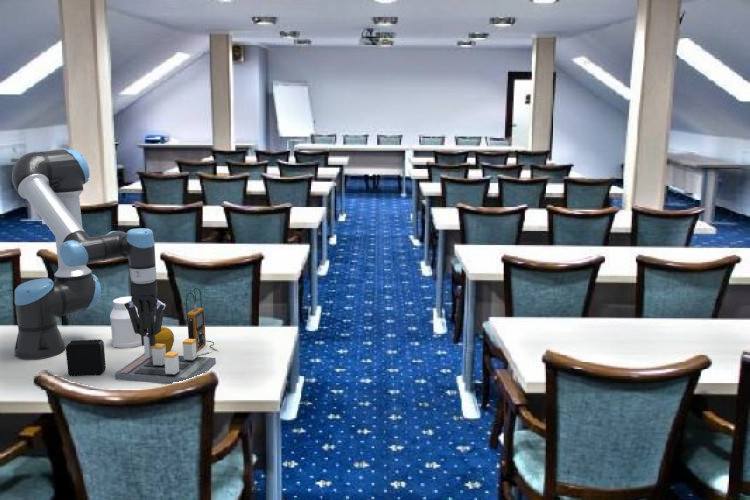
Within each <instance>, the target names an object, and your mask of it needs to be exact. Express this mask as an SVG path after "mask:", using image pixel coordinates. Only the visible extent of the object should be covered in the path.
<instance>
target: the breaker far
mask: <svg viewBox="0 0 750 500" xmlns="http://www.w3.org/2000/svg"><path fill="white" fill-rule="evenodd" d="M182 352H183V356H184V360H194V359H195V358H196V357H198V356H197V355H198V354H197V353H198V351H196V339H189V338H186V339H184V340H183V341H182Z"/></svg>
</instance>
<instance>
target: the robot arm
mask: <svg viewBox="0 0 750 500" xmlns="http://www.w3.org/2000/svg"><path fill="white" fill-rule="evenodd" d="M90 176H91V175H90V168H89V164H88V162H87V159H86V158H85V157H84V155H83V153H81V152H80V151H78V150H75V149H56V150H55V149H54V150H45V151H32V152H31V151H30V152H28V153H25V154H23V155H22V156H20V158H18V159H17V161H16V162H15V163H14V165H13V168H12V171H11V181H12V185H13V187H14V190H15V191H16V192H17V194H18V195H19V197H21V198H22V199H24V200H27V201H28V202H29V204H30V205H31V206H32V208H33V210H35V211H36V213H37V215H38V216H39V217H40V218H41V219H42V221H43V222H44V223H45V225H46V226H47V227H48V228H49V230H50V231H51V232H52V234H53V236H54V237H55V245H56V246H55V247H56V255H57V265H58V268H57V271H55V273H54V280H52V279H51V278H46V277H45V278H44V277H42V278H36V279H35V278H34V279H31V280H28V281H25V282H23V283H21V284H19V285H18V286H17V287H16V288H15V289H14V304H15V305H14V307H15V313H16V321H17V330H18V334H17V337H16V341H15V346H14V356H15V357H16V358H18V359H22V360H40V359H45V358H51V357H54V356H57V355H60V354H61V353H63V352H64V351H66V342H65V340H64V338H63V336H62V333H61V331H60V329H59V328H58V322H57V318H58V317H62V316H66V315H70V314H74V313H79V312H84V311H86V310H89V309H92V308H94V307H96V306H97V304H98V303H99V301H100V300H101V296H102V295H101V293H102V291H101V290H102V288H101V282H100V281H99V278H98V277H97V275H95V274H93V272H92V271H93V270H92V269H90V268H89V267H88V266H87V265H89V264H95V263H100V262H106V261H111V260H115V259H121V258H123V259H128V264H129V278H130V281H131V282H130V291H131V293H130V294H132V295H131V297H132V298H131V301H129V302H127V303H125V304H124V305H125V307H126V309H127V310H128V313H129V316H130V319H131V322H132V326H133V329H134V332H135V333H136V334H137V333H138V334H140V335H141V342H142V345H141V346H142V347H143V346H144V348H143V349H144V350H143V351H144V353H145V357H151V356H152V346H153V345H155V335H156V334H158V333H160V332H161V327H163V326H162V324H163V320H164V315H165V312H164V311H165V310H166V308H167V304H168V303H166V302H162V301H160V298H159V296H158V281H157V278H158V276H157V265H156V248H155V243H156V242H155V240H154V239H155V238H154V232H153V230H152V229H150V228H146V227H145V228H141V227H139V228H131V229H129V230H128V231H127V232H124V231H122V230H121V231H120V230H112V231H109V232H108V233H107V234H103V235H98V236H96V235H95V236H89V235H88V233H86V231H85V230H84V228H83V221H82V220H83V219H82V212H81V202H80V196H81V194H82V193H83V192H84V185H86V184H87V183H88V181H89V180H90V179H89V178H90ZM135 306H136V308H137V311H136V308H135ZM155 308H156V309H157V310H156V314H155ZM137 312H138V314H137ZM138 315H139V318H138Z"/></svg>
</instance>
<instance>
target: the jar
mask: <svg viewBox="0 0 750 500" xmlns="http://www.w3.org/2000/svg"><path fill="white" fill-rule="evenodd" d="M131 298H132V296H121V297H118V298H115V299H113V300H112V305H113V308H112V310H111V312H110V315H109V320H110V330H111V344H112V347H114V348H118V349H130V348H131V349H132V348H136V347H139V346H142V342H141V335H140V334H138V333H137V334H136V333H135V332H134V329H133V326H132V322H131V319H130V316H129V313H128V310H127V309H126V307H125V305H124V304H125V303H127V302H129V301H131ZM135 308H136V306H135ZM136 311H137V308H136ZM137 314H138V312H137ZM138 318H139V315H138Z"/></svg>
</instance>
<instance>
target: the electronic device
mask: <svg viewBox="0 0 750 500" xmlns="http://www.w3.org/2000/svg"><path fill="white" fill-rule="evenodd" d="M65 354H66V365H67V374H68V376H69V377H93V376H101V375H103V373H104V372H105V370H106V369H107V367H106V355H105V354H106V353H105V344H104V340H103V339H77V340H76V339H75V340H74V339H73V340H71V341H69V342H68V344H66V345H65Z"/></svg>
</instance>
